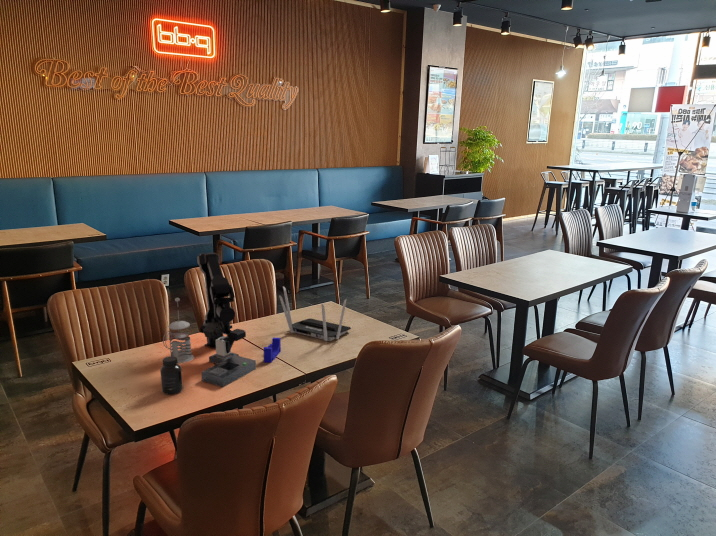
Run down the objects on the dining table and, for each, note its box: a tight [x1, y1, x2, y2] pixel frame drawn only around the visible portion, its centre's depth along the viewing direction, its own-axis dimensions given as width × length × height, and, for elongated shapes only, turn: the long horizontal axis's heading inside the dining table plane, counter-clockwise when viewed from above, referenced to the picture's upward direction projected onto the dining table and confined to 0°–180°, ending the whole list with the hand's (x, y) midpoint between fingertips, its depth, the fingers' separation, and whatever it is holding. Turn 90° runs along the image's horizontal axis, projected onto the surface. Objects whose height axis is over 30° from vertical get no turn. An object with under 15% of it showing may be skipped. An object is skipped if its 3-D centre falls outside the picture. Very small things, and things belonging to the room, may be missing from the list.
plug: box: [215, 335, 232, 359], centre depth 217 cm, size 4×4×9 cm
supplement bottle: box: [159, 355, 184, 396], centre depth 191 cm, size 7×7×12 cm
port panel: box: [201, 355, 257, 388], centre depth 205 cm, size 10×18×4 cm, turn 151°
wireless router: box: [278, 286, 352, 342], centre depth 245 cm, size 34×23×20 cm
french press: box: [162, 297, 195, 364], centre depth 216 cm, size 10×12×25 cm
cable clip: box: [263, 336, 282, 364], centre depth 222 cm, size 12×4×6 cm, turn 170°
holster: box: [208, 351, 239, 365], centre depth 218 cm, size 8×8×2 cm
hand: (223, 352), depth 217 cm, fingers closed on plug, 4 cm apart
